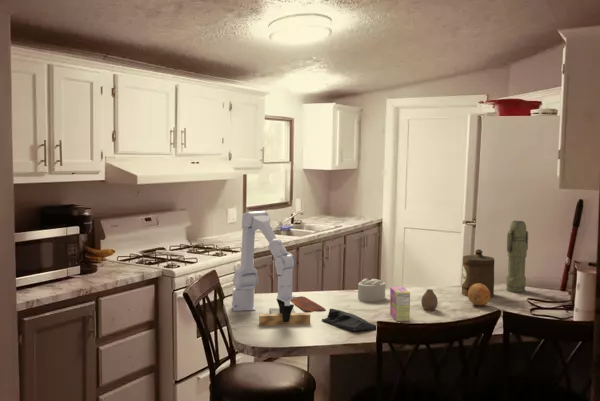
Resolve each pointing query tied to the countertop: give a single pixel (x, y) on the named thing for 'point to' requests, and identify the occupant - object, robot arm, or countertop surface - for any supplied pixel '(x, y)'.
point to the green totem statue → (517, 256)
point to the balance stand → (278, 311)
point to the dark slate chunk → (348, 321)
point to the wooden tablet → (307, 304)
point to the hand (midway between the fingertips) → (284, 319)
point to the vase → (429, 300)
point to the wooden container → (478, 272)
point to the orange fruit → (479, 294)
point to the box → (400, 303)
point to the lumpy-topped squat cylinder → (371, 290)
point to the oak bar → (278, 320)
